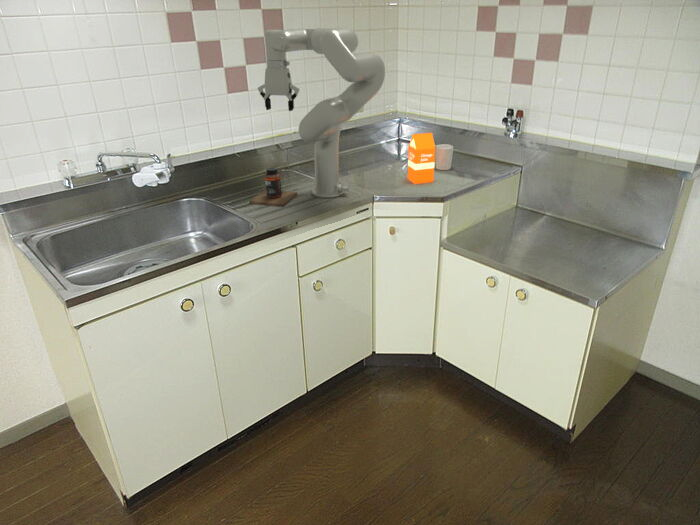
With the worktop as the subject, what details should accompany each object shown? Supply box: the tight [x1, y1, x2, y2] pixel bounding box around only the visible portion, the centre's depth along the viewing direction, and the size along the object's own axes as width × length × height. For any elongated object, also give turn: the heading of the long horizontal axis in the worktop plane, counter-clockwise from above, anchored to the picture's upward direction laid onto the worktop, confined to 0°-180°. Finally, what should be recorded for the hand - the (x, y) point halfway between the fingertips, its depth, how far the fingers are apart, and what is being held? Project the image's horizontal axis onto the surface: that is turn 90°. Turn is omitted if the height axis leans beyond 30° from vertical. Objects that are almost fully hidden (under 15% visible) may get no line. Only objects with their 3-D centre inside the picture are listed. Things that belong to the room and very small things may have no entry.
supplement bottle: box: [264, 166, 283, 199], centre depth 204 cm, size 6×6×11 cm
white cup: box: [435, 143, 454, 171], centre depth 239 cm, size 8×8×10 cm
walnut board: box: [249, 188, 298, 208], centre depth 207 cm, size 14×14×1 cm
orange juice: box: [406, 132, 436, 185], centre depth 222 cm, size 8×9×20 cm
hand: (279, 109), depth 211 cm, fingers open, 9 cm apart
